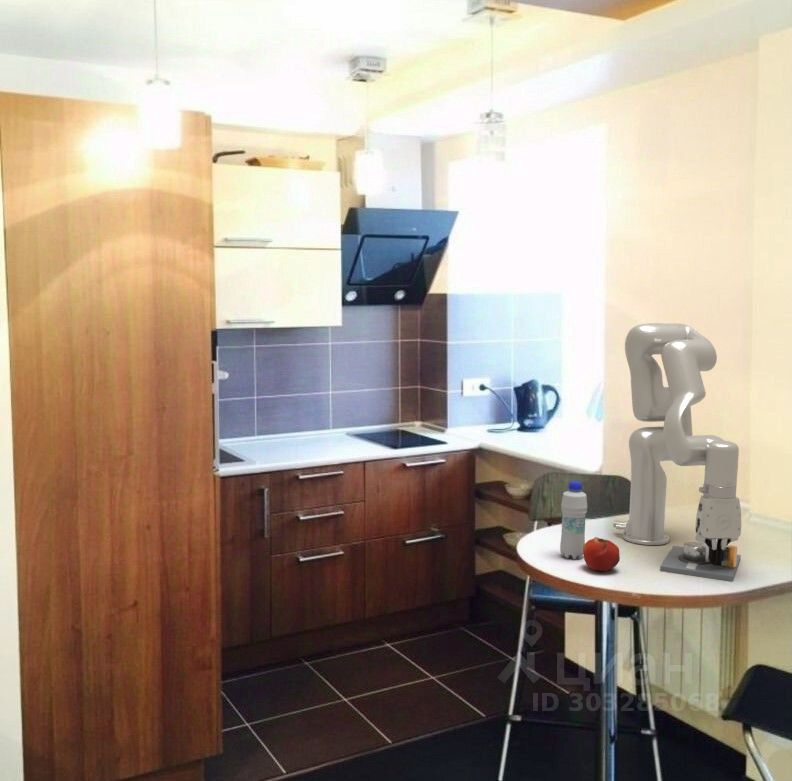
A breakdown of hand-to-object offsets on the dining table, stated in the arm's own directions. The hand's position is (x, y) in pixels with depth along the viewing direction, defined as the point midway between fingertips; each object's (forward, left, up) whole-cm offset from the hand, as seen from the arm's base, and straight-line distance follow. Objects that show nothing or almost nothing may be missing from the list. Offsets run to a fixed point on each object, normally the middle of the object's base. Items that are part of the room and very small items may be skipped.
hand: (715, 563), depth 227 cm
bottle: (-35, -4, -2) cm, 35 cm away
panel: (-4, +5, -2) cm, 7 cm away
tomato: (-26, -11, -3) cm, 28 cm away
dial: (-2, +4, -1) cm, 4 cm away
